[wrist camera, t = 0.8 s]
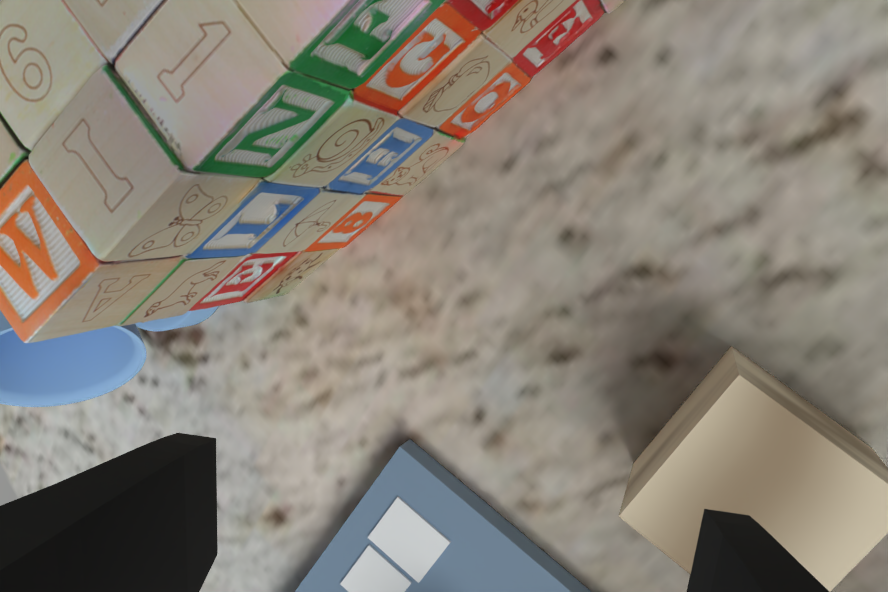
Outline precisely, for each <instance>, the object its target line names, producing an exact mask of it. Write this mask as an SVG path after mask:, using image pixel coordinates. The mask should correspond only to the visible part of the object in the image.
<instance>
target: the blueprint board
mask: <svg viewBox="0 0 888 592" xmlns="http://www.w3.org/2000/svg"><path fill="white" fill-rule="evenodd" d="M295 592H591V591H590V590H589V589H588V588H586V587H585V586H584V585H583V584H582V583H580V582H579V581H578V580H577V579H576V578H575V577H573V576H572V575H571V574H570V573H569V572H567V571H566V570H565V569H564V568H563V567H561V566H560V565H559V564H558V563H557V562H556V561H554V560H553V559H552V558H551V557H550V556H548V555H547V554H546V553H545V552H544V551H542V550H541V549H540V548H539V547H538V546H537V545H535V544H534V543H533V542H532V541H531V540H529V539H528V538H527V537H526V536H525V535H523V534H522V533H521V532H520V531H519V530H518V529H516V528H515V527H514V526H513V525H512V524H510V523H509V522H508V521H507V520H506V519H504V518H503V517H502V516H501V515H500V514H498V513H497V512H496V511H495V510H494V509H493V508H491V507H490V506H489V505H488V504H487V503H485V502H484V501H483V500H482V499H481V498H479V497H478V496H477V495H476V494H475V493H474V492H472V491H471V490H470V489H469V488H468V487H466V486H465V485H464V484H463V483H462V482H460V481H459V480H458V479H457V478H456V477H455V476H453V475H452V474H451V473H450V472H449V471H447V470H446V469H445V468H444V467H443V466H441V465H440V464H439V463H438V462H437V461H436V460H434V459H433V458H432V457H431V456H430V455H428V454H427V453H426V452H425V451H424V450H422V449H421V448H420V447H419V446H418V445H417V444H415V443H414V442H413V441H412V440H411V439H409V440H408V441H407V442H405V443H404V444H403V445H401V446H400V447H399V448H398V450H397V451H396V452H395V454H394V455H393V457H392V458H391V459H390V461H389V462H388V464H387V465H386V466H385V468H384V469H383V470H382V472H381V473H380V475H379V476H378V477H377V479H376V480H375V482H374V483H373V484H372V486H371V487H370V488H369V490H368V491H367V493H366V494H365V495H364V497H363V498H362V499H361V501H360V502H359V504H358V505H357V506H356V508H355V509H354V511H353V512H352V513H351V515H350V516H349V517H348V519H347V520H346V522H345V523H344V524H343V526H342V527H341V529H340V530H339V531H338V533H337V534H336V535H335V537H334V538H333V540H332V541H331V542H330V544H329V545H328V547H327V548H326V549H325V551H324V552H323V553H322V555H321V556H320V558H319V559H318V560H317V562H316V563H315V564H314V566H313V567H312V569H311V570H310V571H309V573H308V574H307V576H306V577H305V578H304V580H303V581H302V582H301V584H300V585H299V587H298V588H297V589H296V591H295Z"/></svg>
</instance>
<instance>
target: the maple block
mask: <svg viewBox="0 0 888 592" xmlns="http://www.w3.org/2000/svg"><path fill="white" fill-rule="evenodd" d="M704 509H709V510H716V511H723V512H730V513H737V514H744V515H749V516H751V517H752V518H753V519H754V520H755V521H756V522H758V523H759V524H760V525H761V526H762V527H763V528H764V529H765V530H766V531H767V532H768V533H769V534H771V535H772V536H773V537H774V538H775V539H776V540H777V541H778V542H779V543H780V544H781V545H782V546H783V547H784V548H785V549H786V550H787V551H788V552H789V553H790V554H791V555H792V556H793V557H794V558H795V559H796V560H797V561H798V562H799V563H800V564H801V565H802V566H803V567H804V568H805V569H806V570H807V571H809V572H810V573H811V574H812V575H813V576H814V577H815V578H816V579H817V580H818V581H819V582H820V583H821V584H822V585H823V586H824V587H825V588H826V589H827V590H828V591H829V592H830V591H831V590H832V589H833V588H834V587H835V586H836V585H837V584H838V583H839V582H840V581H841V580H842V579H843V578H844V577H845V576H846V575H847V574H848V573H849V572H850V571H851V570H852V569H853V568H854V567H855V566H856V565H857V564H858V563H859V562H860V561H861V560H862V559H863V558H864V557H865V556H866V555H867V554H868V553H869V552H870V551H871V550H872V549H873V548H874V547H875V546H876V544H877V543H878V542H879V541H880V540H881V539H882V538H883V537H884V536H885V535H886V534H887V533H888V468H887V467H886V466H885V464H884V463H883V462H882V460H881V459H880V458H879V457H878V455H877V454H876V453H875V451H874V450H873V449H872V448H871V447H869V446H868V445H867V444H865V443H864V442H863V441H861V440H860V439H858V438H857V437H856V436H854V435H853V434H852V433H850V432H849V431H847V430H846V429H845V428H843V427H842V426H841V425H839V424H838V423H836V422H835V421H834V420H832V419H831V418H830V417H828V416H827V415H825V414H824V413H823V412H821V411H820V410H819V409H817V408H816V407H814V406H813V405H812V404H810V403H809V402H808V401H806V400H805V399H803V398H802V397H801V396H799V395H798V394H797V393H795V392H794V391H793V390H791V389H790V388H788V387H787V386H786V385H784V384H783V383H782V382H780V381H779V380H777V379H776V378H775V377H773V376H772V375H771V374H769V373H768V372H766V371H765V370H764V369H762V368H761V367H760V366H758V365H757V364H755V363H754V362H753V361H751V360H750V359H749V358H747V357H746V356H744V355H743V354H742V353H740V352H739V351H738V350H736V349H735V348H733V347H732V346H731V347H730V348H729V350H728V351H727V352H726V353H725V354H724V356H723V357H722V358H721V359H720V360H719V361H718V363H717V364H716V365H715V366H714V367H713V369H712V370H711V371H710V372H709V373H708V375H707V376H706V377H705V378H704V379H703V381H702V382H701V383H700V384H699V385H698V387H697V388H696V389H695V390H694V391H693V393H692V394H691V395H690V396H689V397H688V399H687V400H686V401H685V402H684V403H683V405H682V406H681V407H680V408H679V409H678V411H677V412H676V413H675V414H674V415H673V416H672V418H671V419H670V420H669V421H668V422H667V424H666V425H665V426H664V427H663V428H662V430H661V431H660V432H659V433H658V434H657V436H656V437H655V438H654V439H653V440H652V442H651V443H650V444H649V445H648V446H647V448H646V449H645V450H644V451H643V452H642V454H641V455H640V456H639V457H638V458H637V460H636V461H635V462H634V463H633V467H632V470H631V474H630V477H629V481H628V485H627V488H626V492H625V495H624V499H623V503H622V506H621V510H620V513H619V517H620V518H621V519H623V520H624V521H625V522H626V523H627V524H629V525H630V526H631V527H632V528H634V529H635V530H636V531H637V532H639V533H640V534H641V535H642V536H644V537H645V538H646V539H647V540H648V541H650V542H651V543H652V544H653V545H655V546H656V547H657V548H658V549H660V550H661V551H662V552H663V553H665V554H666V555H667V556H668V557H669V558H671V559H672V560H673V561H674V562H676V563H677V564H678V565H679V566H681V567H682V568H683V569H684V570H686V571H687V572H688V573H689V574H691V570H692V565H693V560H694V555H695V551H696V546H697V541H698V536H699V532H700V527H701V522H702V517H703V513H704Z"/></svg>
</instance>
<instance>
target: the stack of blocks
mask: <svg viewBox="0 0 888 592" xmlns="http://www.w3.org/2000/svg"><path fill="white" fill-rule="evenodd" d="M624 1H625V0H1V2H0V310H1V312H2V313H3V315H4V316H5V318H6V319H7V321H8V322H9V324H10V325H11V326H12V328H13V329H14V331H15V332H16V334H17V335H18V337H19V338H20V339H21V340H22V341H23V342H24V343H32V342H39V341H44V340H48V339H53V338H58V337H63V336H68V335H73V334H78V333H83V332H87V331H92V330H97V329H101V328H106V327H111V326H126V325H131V324H135V323H138V322H142V323H144V322H147V321H152V320H157V319H164V318H169V317H175V316H180V315H183V314H185V313H186V312H187V311H194V310H199V309H207V308H211V307H216V306H221V305H225V304H230V303H235V302H240V301H243V302H247V303H249V302H253V301H258V300H263V299H268V298H272V297H276V296H281V295H285V294H287V293H289V292H290V291H291V290H292V289H294V288H295V287H296V286H297V285H298V284H299V283H301V282H302V281H303V280H304V279H305V278H306V277H307V276H309V275H310V274H311V273H312V272H313V271H314V270H316V269H317V268H318V267H319V266H320V265H321V264H323V263H324V262H325V261H326V260H327V259H328V258H330V257H331V256H332V255H333V254H334V253H335V252H337V251H338V250H339V249H340V248H343V247H345V246H347V245H348V244H349V243H350V242H351V241H353V240H354V239H355V238H356V237H357V236H358V235H359V234H361V233H362V232H363V231H364V230H365V229H366V228H368V227H369V226H370V225H371V224H372V223H373V222H374V221H376V220H377V219H378V218H379V217H380V216H381V215H382V214H384V213H385V212H386V211H387V210H388V209H389V208H391V207H392V206H393V205H394V204H395V203H396V202H397V201H399V200H400V199H401V197H402V196H404V195H405V194H406V193H408V192H409V191H410V190H411V189H412V188H414V187H415V186H416V185H418V184H419V183H420V182H421V181H422V180H424V179H425V178H426V177H427V176H428V175H429V174H430V173H432V172H433V171H434V170H435V169H436V168H437V167H438V166H440V165H441V164H442V163H443V162H444V161H445V160H446V159H447V158H449V157H450V156H451V155H452V154H453V153H454V152H455V151H456V150H458V149H459V148H460V147H461V146H462V145H463V144H464V142H465V140H466V137H467V136H468V135H469V134H470V133H472V132H473V131H474V130H476V129H477V128H478V127H479V126H480V125H481V124H482V123H483V122H485V121H486V120H487V119H488V118H489V117H490V116H491V115H492V114H493V113H495V112H496V111H497V110H498V109H500V108H501V107H502V106H503V105H504V104H505V103H506V102H507V101H509V100H510V99H511V98H512V97H513V96H514V95H515V94H517V93H518V92H519V91H520V90H521V89H522V88H523V87H525V86H526V85H527V84H528V83H529V82H530V80H531V79H532V77H533V76H534V75H535V74H536V73H538V72H539V71H540V70H541V69H542V68H544V67H545V66H546V65H547V64H548V63H549V62H551V61H552V60H553V59H554V58H555V57H557V56H558V55H559V54H560V53H561V52H562V51H563V50H564V49H566V48H567V47H568V46H569V45H570V44H571V43H572V42H573V41H574V40H575V39H576V38H577V37H579V36H580V35H581V34H583V33H584V32H585V31H586V30H587V29H588V28H589V27H590V26H591V25H593V24H594V23H595V22H596V21H597V20H598V19H599V18H600V17H601V16H602V15H603V14H604V13H611V12H613V11H614V10H615V9H616V8H617V7H618V6H619V5H621V4H622V3H623V2H624Z"/></svg>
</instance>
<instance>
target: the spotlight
mask: <svg viewBox="0 0 888 592" xmlns="http://www.w3.org/2000/svg"><path fill="white" fill-rule="evenodd" d="M218 307H219V306H216V307H211V308H207V309H199V310H194V311H187V312H186V313H185V314H183V315H180V316H175V317H169V318H164V319H157V320H152V321H147V322H144V323H142V322H138V323H135V324H131V325H126V326H111V327H106V328H101V329H97V330H92V331H87V332H83V333H78V334H73V335H68V336H63V337H58V338H53V339H48V340H44V341H39V342H32V343H24V342H23V341H22V340H21V339H20V338H19V337H18V335H17V334H16V332H15V331H14V329H13V328H12V326H11V325H10V324H9V322H8V321H7V319H6V318H5V316H4V315H3V313H2V312H1V310H0V403H1V404H6V405H12V406H22V407H47V406H58V405H65V404H71V403H76V402H81V401H85V400H88V399H92V398H95V397H98V396H101V395H103V394H106V393H108V392H110V391H112V390H115V389H117V388H118V387H120V386H122V385H123V384H125V383H126V382H128V381H129V380H131V379H132V378H133V377H134V376H135V375H136V374H137V373H138V372H139V371H140V370H141V368H142V366H143V365H144V362H145V359H146V348H145V346H144V343H143V341H142V338H141V336H140V333H139V331H138V329H137V327H139V328H142V329H145V330H149V331H165V330H170V329H176V328H181V327H186V326H192V325H195V324H198V323H200V322H202V321H204V320H206V319H207V318H208V317H210V316H211V315H212V314H213V313H214V312H215V311H216V309H217V308H218Z"/></svg>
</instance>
